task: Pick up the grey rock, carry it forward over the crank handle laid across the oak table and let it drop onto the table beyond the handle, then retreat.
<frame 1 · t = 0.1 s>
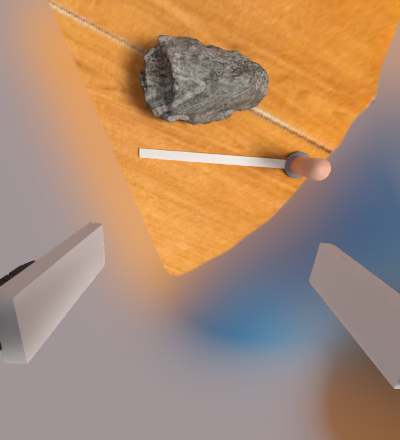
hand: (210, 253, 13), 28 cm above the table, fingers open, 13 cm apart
crank handle: (214, 158, 38), on the table
rock: (202, 85, 35), on the table
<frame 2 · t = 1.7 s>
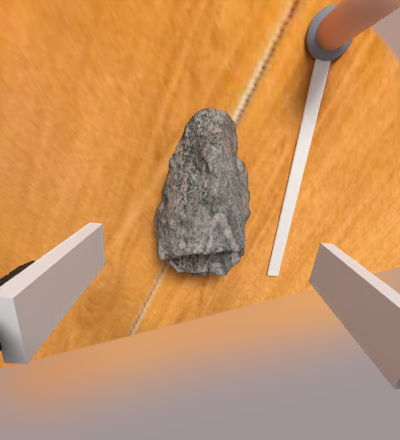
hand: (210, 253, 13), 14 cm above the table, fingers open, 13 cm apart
crank handle: (293, 181, 27), on the table
rock: (200, 197, 27), on the table
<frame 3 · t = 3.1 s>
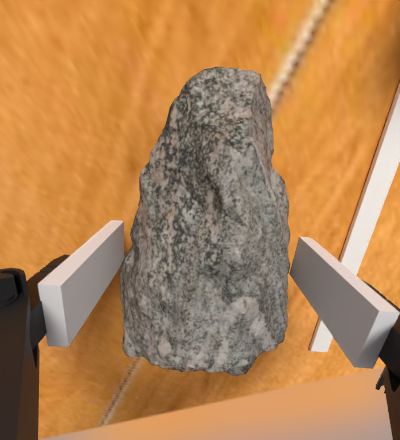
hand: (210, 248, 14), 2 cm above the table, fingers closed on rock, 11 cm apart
crank handle: (366, 209, 16), on the table
rock: (202, 233, 16), on the table, touching gripper
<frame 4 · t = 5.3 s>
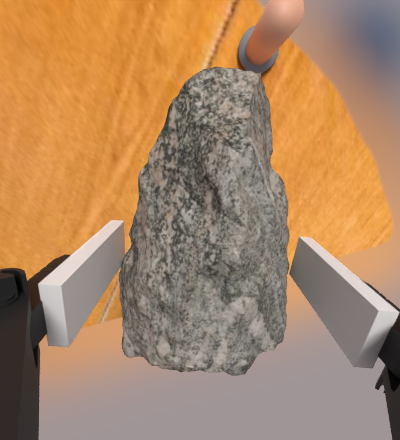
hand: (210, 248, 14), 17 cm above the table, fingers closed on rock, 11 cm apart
crank handle: (238, 179, 30), on the table
rock: (201, 233, 16), point 15 cm above the table, touching gripper
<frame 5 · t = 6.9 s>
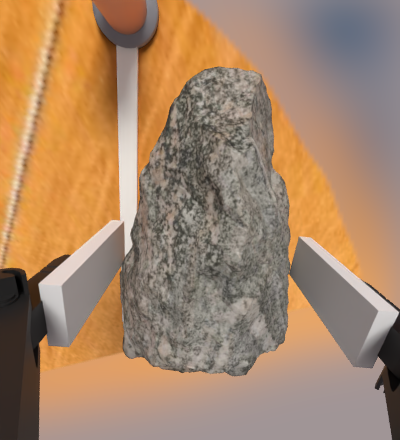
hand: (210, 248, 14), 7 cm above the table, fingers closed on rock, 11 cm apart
crank handle: (129, 208, 20), on the table
rock: (202, 233, 16), point 5 cm above the table, touching gripper
when the fingers open (5 cm above the table, at t = 7.7 s): rock drops 3 cm, on the table.
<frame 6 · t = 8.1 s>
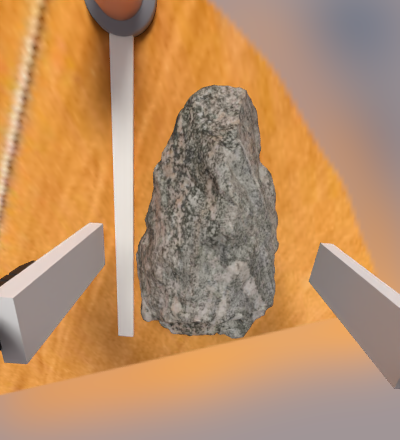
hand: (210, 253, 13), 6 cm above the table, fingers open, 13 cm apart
crank handle: (125, 214, 19), on the table
rock: (204, 220, 19), on the table
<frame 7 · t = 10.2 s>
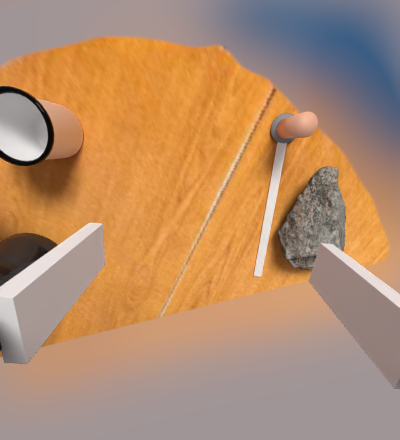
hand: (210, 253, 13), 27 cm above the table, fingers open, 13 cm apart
crank handle: (268, 214, 40), on the table
mug: (52, 133, 37), on the table
rock: (304, 216, 41), on the table
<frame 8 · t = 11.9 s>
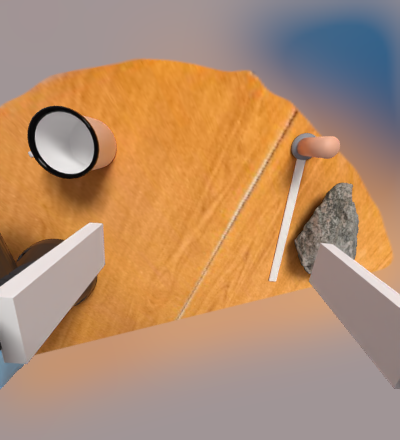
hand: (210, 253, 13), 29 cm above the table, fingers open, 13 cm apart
crank handle: (285, 224, 43), on the table
mug: (86, 145, 39), on the table
rock: (317, 226, 44), on the table
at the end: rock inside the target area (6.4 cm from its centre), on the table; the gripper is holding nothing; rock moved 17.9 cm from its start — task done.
